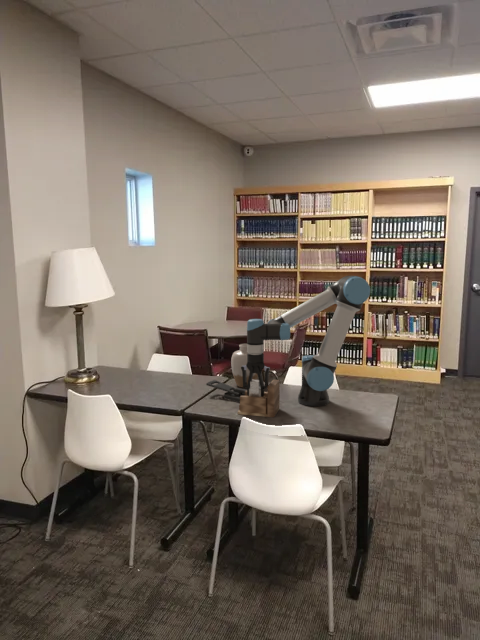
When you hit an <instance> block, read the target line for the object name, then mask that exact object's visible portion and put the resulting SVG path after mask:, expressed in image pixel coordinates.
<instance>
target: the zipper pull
mask: <svg viewBox="0 0 480 640" xmlns="http://www.w3.org/2000/svg"><path fill="white" fill-rule="evenodd" d="M206 386H208V387H211V388H214V389H218V390H221V391H224V394H223V399H224V400H228V401H233V402H237V403H240V396H245V391H246V390H247V388H242V387H234V386H231V385H229V384H226V383H224V382H221V381H218V380H216V379H213V380H210V381H208V382H206Z"/></svg>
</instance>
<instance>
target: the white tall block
mask: <svg viewBox="0 0 480 640" xmlns="http://www.w3.org/2000/svg"><path fill="white" fill-rule="evenodd" d="M260 389H261V388H260V383H259V379H257V380H253V379H252V380H251V381H250V396H254V397H259V390H260Z"/></svg>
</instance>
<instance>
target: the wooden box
mask: <svg viewBox="0 0 480 640" xmlns="http://www.w3.org/2000/svg"><path fill="white" fill-rule="evenodd" d="M280 385H281V384H280V379H272V380H271V382H270V383H268V388H267V391H264V396H263V397H254V396H248V395H247V389H246V391H245V396H240V402H239V404H238V410H237V415H241V416H242V415H245V416H255V417H256V416H257V417H264V418H265V417H266V418H268V417H269V418H275V417H276V416H277V413H278V412H279V410H280V394H281V393H280V387H281V386H280Z"/></svg>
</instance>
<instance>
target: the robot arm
mask: <svg viewBox="0 0 480 640" xmlns="http://www.w3.org/2000/svg"><path fill="white" fill-rule="evenodd" d="M370 295H371V286H370V284H369V282H368V281H367V280H366V279H364V278H363V277H361V276H357V275H345V276H343V277H342V278H340V279H339V280H337V281H335V282H334V283H332V284H330V285H329V286H327V288H326V290H323V292H320V293H318V294H317V295H315V296H313V297H311V298H310V299H307V300H306V301H304V302H303V303H301V304H298V305H297V306H295V307H293V308H292V309H290V310H288V311H286V312H284V313H282V314H281V315H278V316H276V317H274V318H272V319H270V320H268V322H267V323H265V322H264V321H265V320H264V319H262V318H250V319H248V320H247V321H246V322H247V323H246V325H247V326H246V344H247V352H248V354H247V364H246V365H245V366H244V365H243V366H242V367H241V369H242V375H243V387H245V388H244V389H246V390H247V395H248V396H250V381H251V380H252V378H253V373H256V374H257V375H258V377H257V379H258V380H259V383H260V388H261V389H260V390H259V397H263V396H264V392H265V390H266V389H267V390H268V385H269V379H270V378H269V374H270V370H271V367H270V366H267V365H266V364H265V360H264V359H265V355H264V352H265V351H264V349H265V345H264V343H265V341H288V340H290V338H291V328H293V327H294V326H297V325H298V324H300V323H302V322H304V321H305V320H307V319H309V318H311V317H313V316H315V315H316V314H318V313H320V312H322V311H323V310H326V309H328V308H330V307H332V306H333V305H335V304H336V308H335V311H334V313H333V316H332V318H331V319H330V320H331V321H330V323H329V325H328V328H327V330H326V333H325V335H324V338H323V340H322V342H321V344H320V347H319V350H318V353H317V354H315V355H313V354H311V355H309V354H308V355H303V356H302V359H301V387H300V390H299V394H298V396H297V402H298V403H299V404H301V405H303V406H309V407H322V406H326V405H328V404H329V403H330V396H329V393H328V390H329V389H330V388H331V387H332V386H333V383H334V382H335V381H334V380H335V376H334V375H335V372H336V370H337V368H338V364H337V362H336V361H337V358H338V356H339V354H340V351H341V349H342V346H343V344H344V341H345V339H346V337H347V334H348V332H349V329H350V327H351V325H352V323H353V322H352V321H353V319H354V318H355V315H356V313H357V312H359V311H361V309H362V307H363V305H364V303H365V302H366V301H367V300H368V299H369V297H370ZM247 368H248V369H249V371H250V373H249V379H248V384H247V376H246V369H247ZM263 370H264V377H263V372H262V371H263ZM263 378H264V379H263ZM243 387H242V388H243Z"/></svg>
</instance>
